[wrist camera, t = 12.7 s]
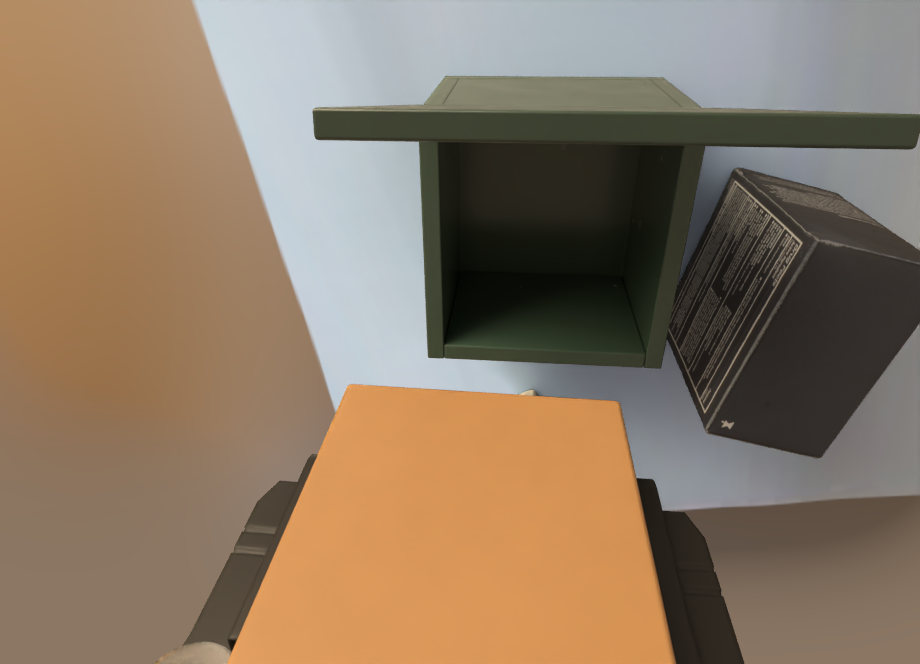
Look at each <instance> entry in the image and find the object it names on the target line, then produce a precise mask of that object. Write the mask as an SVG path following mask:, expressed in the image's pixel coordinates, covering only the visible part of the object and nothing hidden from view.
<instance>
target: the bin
mask: <svg viewBox="0 0 920 664" xmlns="http://www.w3.org/2000/svg"><path fill="white" fill-rule="evenodd" d="M424 105H484V106H578V107H672V108H702V107H700V106H699V105H698V104H696V103H695V102H694V101H693V100H691V99H690V98H689V97H688V96H686V95H685V94H684V93H682V92H681V91H680V90H679V89H677V88H676V87H675V86H673V85H672V84H671V83H670V82H668V81H667V80H666V79H664V78H662V77H508V76H445V77H444V79H443V80H442V81H441V83H440V84H439V85H438V87H437V88H436V89H435V90H434V92H433V93H432V94H431V96H430V97H429V98H428V100H427V101H426V102H425V103H424ZM704 150H705V146H664V145H602V144H539V143H476V142H419V154H420V178H421V202H422V226H423V250H424V274H425V298H426V322H427V347H428V357H429V358H444V357H445V358H450V359H471V360H492V361H514V362H535V363H556V364H578V365H599V366H620V367H643V366H644V368H658V369H660V368H661V365H662V360H663V355H664V350H665V345H666V340H667V335H668V330H669V325H670V320H671V315H672V310H673V305H674V300H675V295H676V290H677V285H678V280H679V275H680V270H681V265H682V260H683V255H684V250H685V245H686V240H687V235H688V230H689V225H690V220H691V215H692V210H693V205H694V200H695V195H696V190H697V185H698V180H699V175H700V170H701V165H702V160H703V155H704Z"/></svg>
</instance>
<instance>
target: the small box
mask: <svg viewBox="0 0 920 664" xmlns="http://www.w3.org/2000/svg"><path fill="white" fill-rule="evenodd" d="M919 323H920V251H919V250H918V249H916V248H915V247H914V246H912V245H911V244H910V243H908V242H906V241H905V240H904V239H902V238H900V237H899V236H897V235H896V234H894V233H893V232H891V231H890V230H889V229H887V228H886V227H884V226H883V225H881V224H880V223H878V222H877V221H876V220H875V219H872V218H871V217H870V216H869V215H867V214H865V213H864V212H863V211H861V210H860V209H858V208H857V207H855V206H854V205H852V204H851V203H849V202H848V201H846V200H845V199H844V198H843V197H842V196H840V195H839V194H837V193H834V192H830V191H826V190H823V189H819V188H816V187H812V186H808V185H804V184H801V183H797V182H793V181H789V180H785V179H781V178H778V177H773V176H770V175H766V174H763V173H759V172H755V171H751V170H747V169H744V168H736V169H734V170H733V172H732V174H731V177H730V179H729V181H728V183H727V185H726V187H725V189H724V191H723V193H722V195H721V197H720V199H719V202H718V203H717V206H716V208H715V210H714V212H713V214H712V216H711V218H710V220H709V222H708V224H707V226H706V229H705V231H704V233H703V235H702V237H701V239H700V241H699V243H698V246H697V248H696V250H695V252H694V254H693V256H692V258H691V260H690V262H689V265H688V267H687V268H686V271H685V273H684V275H683V277H682V279H681V281H680V283H679V286H678V288H677V290H676V295H675V300H674V305H673V310H672V315H671V320H670V325H669V330H668V335H667V340H668V342H669V345H670V347H671V349H672V351H673V354H674V356H675V358H676V361H677V363H678V365H679V368H680V370H681V372H682V376H683V378H684V380H685V383H686V385H687V387H688V390H689V392H690V395H691V397H692V399H693V402H694V404H695V406H696V409H697V411H698V414H699V416H700V418H701V421H702V423H703V427H704V429H705V431H706V433H707V434H711V435H715V436H721V437H726V438H730V439H734V440H739V441H742V442H746V443H752V444H756V445H760V446H765V447H768V448H774V449H777V450H781V451H786V452H790V453H795V454H799V455H804V456H809V457H813V458H821V457H822V456H823V454H824V453H825V451H826V450H827V449H828V447H829V446H830V445H831V443H832V442H833V441H834V439H835V438H836V437H837V435H838V434H839V433H840V431H841V430H842V428H843V427H844V426H845V424H846V423H847V421H848V420H849V419H850V417H851V416H852V414H853V413H854V412H855V410H856V409H857V408H858V406H859V405H860V403H861V402H862V401H863V399H864V398H865V397H866V395H867V394H868V393H869V391H870V390H871V389H872V387H873V386H874V384H875V383H876V382H877V380H878V379H879V378H880V376H881V375H882V374H883V372H884V371H885V370H886V368H887V367H888V365H889V364H890V363H891V361H892V360H893V359H894V357H895V356H896V355H897V353H898V352H899V350H900V349H901V348H902V346H903V345H904V344H905V342H906V341H907V340H908V338H909V337H910V336H911V334H912V333H913V331H914V330H915V329H916V327H917V326H918V325H919Z"/></svg>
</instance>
